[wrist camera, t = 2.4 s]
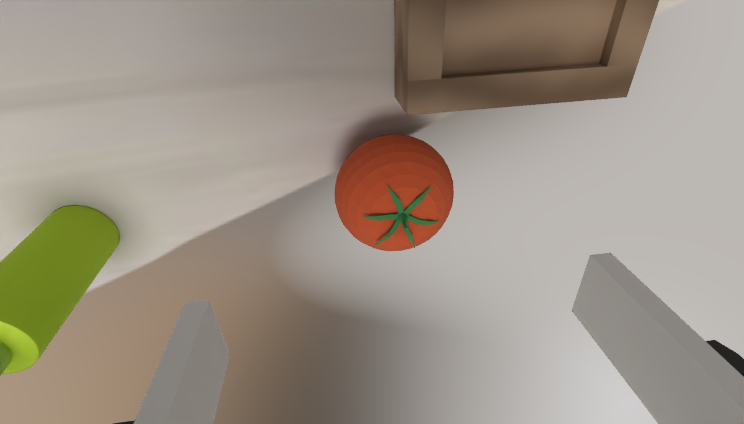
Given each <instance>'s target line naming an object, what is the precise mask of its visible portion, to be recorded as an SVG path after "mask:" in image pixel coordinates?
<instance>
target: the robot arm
mask: <svg viewBox="0 0 744 424" xmlns="http://www.w3.org/2000/svg"><path fill="white" fill-rule="evenodd" d="M572 312H573V313H574V314H575V315H576V317H577V318H578V319H579V321H580V322H581V323H582V325H583V326H584V327H585V328H586V330H587V331H588V332H589V334H590V335H591V336H592V338H593V339H594V340H595V342H596V343H597V344H598V346H599V347H600V348H601V349H602V350H603V352H604V353H605V355H606V356H607V357H608V359H609V360H610V361H611V362H612V364H613V365H614V366H615V367H616V369H617V370H618V372H619V373H620V374H621V376H622V377H623V378H624V379H625V381H626V382H627V383H628V385H629V386H630V387H631V389H632V390H633V391H634V392H635V394H636V395H637V396H638V398H639V399H640V400H641V402H642V403H643V404H644V406H645V407H646V408H647V409H648V411H649V412H650V413H651V415H652V416H653V417H654V419H655V420H656V421H657V422H658V424H744V359H743V358H742V357H741V356H740V355H738V354H737V353H736V352H734V351H732V350H730V349H729V348H727V347H726V346H724V345H722V344H721V343H719V342H717V341H716V340H711V341H705V340H704V339H702V338H701V337H700V336H699V335H698V334H697V333H696V332H695V331H694V330H693V329H692V328H691V327H690V326H689V325H687V324H686V323H685V322H684V321H683V320H682V319H681V318H680V317H679V316H678V315H677V314H676V313H675V312H674V311H672V310H671V309H670V308H669V307H668V306H667V305H666V304H665V303H664V302H663V301H662V300H661V299H660V298H658V297H657V296H656V295H655V294H654V293H653V292H652V291H651V290H650V289H649V288H648V287H647V286H646V285H644V284H643V283H642V282H641V281H640V280H639V279H638V278H637V277H636V276H635V275H634V274H633V273H632V272H631V271H629V270H628V269H627V268H626V267H625V266H624V265H623V264H622V263H621V262H620V261H619V260H618V259H617V258H616V257H615V256H613V255H612V254H611V253H604V254H596V255H590V257H589V260H588V263H587V266H586V269H585V272H584V275H583V278H582V281H581V284H580V287H579V290H578V293H577V296H576V299H575V302H574V305H573V309H572ZM229 356H230V353H229V350H228V347H227V345H226V342H225V340H224V337H223V334H222V332H221V329H220V327H219V324H218V321H217V319H216V316H215V313H214V311H213V308H212V305H211V303H210V300H209V299H208V300H199V301H191V302H185V303H184V306H183V308H182V310H181V313H180V315H179V318H178V320H177V323H176V325H175V327H174V329H173V332H172V334H171V336H170V339H169V341H168V344H167V346H166V348H165V351H164V353H163V355H162V358H161V360H160V362H159V365H158V367H157V370H156V372H155V374H154V377H153V379H152V382H151V384H150V386H149V388H148V391H147V393H146V396H145V398H144V400H143V403H142V405H141V408H140V410H139V412H138V414H137V417H136V419H135V421H129V422H121V423H115V424H213V422H214V418H215V414H216V409H217V405H218V401H219V397H220V393H221V389H222V385H223V381H224V377H225V372H226V368H227V364H228V360H229Z"/></svg>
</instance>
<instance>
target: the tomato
mask: <svg viewBox="0 0 744 424" xmlns="http://www.w3.org/2000/svg"><path fill="white" fill-rule="evenodd" d="M452 202H453V180H452V177H451V174H450V171H449V168H448V166H447V164H446V163H445V161H444V159H443V158H442V157H441V156H440V154H439V153H438V152H437V151H436V150H435V149H434V148H432V147H431V146H430V145H428V144H427V143H425V142H424V141H422V140H419V139H417V138H414V137H410V136H405V135H399V134H397V135H384V136H379V137H376V138H373V139H371V140H369V141H366V142H365V143H363V144H362V145H360V146H359V147H357V148H356V149H355V150H354V151H353V152H352V153H351V154H350V155H349V156H348V158H347V159H346V161H345V162H344V163H343V165H342V166H341V169H340V171H339V173H338V176H337V180H336V185H335V203H336V207H337V211H338V214H339V217H340V219H341V221H342V223H343V224H344V226H345V227H346V228H347V229H348V230H349V231H350V233H351V234H352V235H353V236H354V237H355V238H356V239H358V240H359V241H360V242H362V243H364V244H366V245H368V246H371V247H373V248H376V249H380V250H385V251H401V250H405V249H410V248H413V247H414V248H415V246H418V245H420V244H422V243H424V242H426V241H427V240H429V239H430V238H431V237H432V236H434V235H435V234H436V233H437V232H438V230H439V229H440V228H441V227H442V226H443V224H444V222H445V221H446V219H447V217H448V215H449V212H450V210H451V207H452Z"/></svg>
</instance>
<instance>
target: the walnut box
mask: <svg viewBox="0 0 744 424" xmlns="http://www.w3.org/2000/svg"><path fill="white" fill-rule="evenodd" d="M658 2H659V0H395V97H396V99H397V100H398V102H399V104H400V105H401V107H402V108H403V110H404V111H405V113H406V114H407V115H413V114H426V113H438V112H450V111H462V110H474V109H486V108H498V107H511V106H523V105H535V104H547V103H559V102H572V101H584V100H596V99H608V98H620V97H627V94H628V91H629V88H630V85H631V82H632V79H633V76H634V73H635V70H636V67H637V64H638V61H639V58H640V55H641V52H642V49H643V46H644V43H645V40H646V38H647V35H648V32H649V28H650V26H651V22H652V19H653V17H654V14H655V11H656V8H657V5H658Z"/></svg>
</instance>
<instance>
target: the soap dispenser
mask: <svg viewBox="0 0 744 424" xmlns="http://www.w3.org/2000/svg"><path fill="white" fill-rule="evenodd" d="M119 238H120V237H119V232H118V229H117V227H116V226H115V224H114V223H113V222H112V221H111V220H110V219H109V218H108V217H107V216H105V215H104V214H102V213H101V212H99V211H97V210H94V209H91V208H88V207H84V206H65V207H62V208H59V209H57V210H55V211H54V212H53V213H52V214H51V215H50V216H49V217H48V218H47V219H45V220H44V221H43V222H42V223H41V224H40V225H39V226H38V227H37V228H36V229H35V230H34V231H33V232H32V233H31V234H30V235H29V236H28V237H26V238H25V239H24V240H23V241H22V242H21V243H20V244H19V245H18V246H17V247H16V248H15V249H14V250H13V251H12V252H11V253H10V254H8V255H7V256H6V257H5V258H4V259H3V260H2V261H1V262H0V375H1V374H12V373H17V372H21V371H23V370H26V369H28V368H30V367H31V366H33V365H34V364H35V363H36V362H37V360H38V359H39V357H40V356H41V355H42V353H43V351H44V350H45V349H46V347H47V346H48V344H49V343H50V342H51V340H52V339H53V337H54V336H55V334H56V333H57V332H58V330H59V329H60V327H61V326H62V324H63V323H64V322H65V320H66V319H67V317H68V316H69V314H70V313H71V311H72V310H73V308H74V307H75V306H76V304H77V303H78V301H79V300H80V299H81V297H82V296H83V294H84V293H85V291H86V290H87V289H88V287H89V286H90V284H91V283H92V281H93V280H94V279H95V277H96V276H97V274H98V273H99V271H100V270H101V268H102V267H103V266H104V264H105V263H106V261H107V260H108V258H109V257H110V256H111V254H112V253H113V251H114V250H115V248H116V247H117V245H118V243H119Z"/></svg>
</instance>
